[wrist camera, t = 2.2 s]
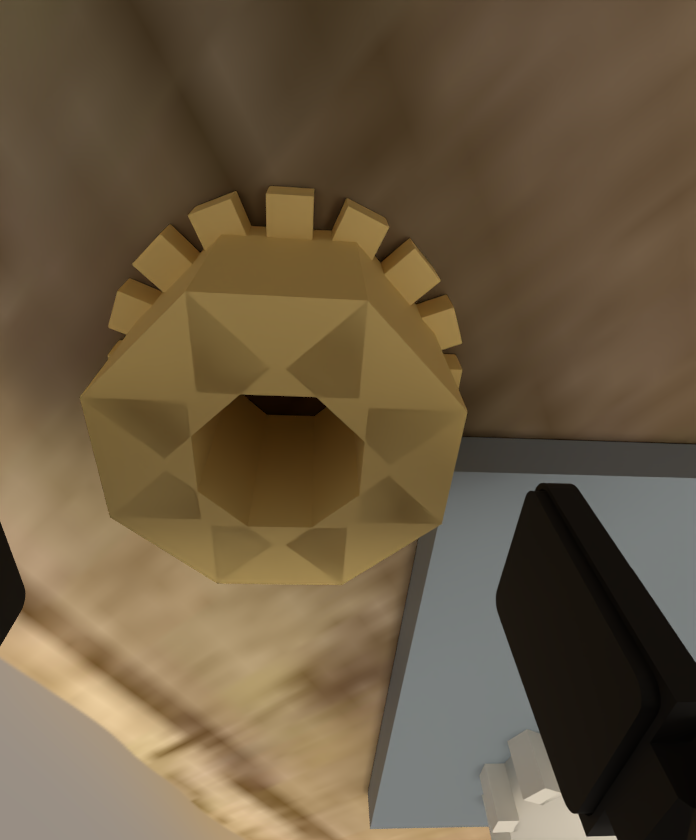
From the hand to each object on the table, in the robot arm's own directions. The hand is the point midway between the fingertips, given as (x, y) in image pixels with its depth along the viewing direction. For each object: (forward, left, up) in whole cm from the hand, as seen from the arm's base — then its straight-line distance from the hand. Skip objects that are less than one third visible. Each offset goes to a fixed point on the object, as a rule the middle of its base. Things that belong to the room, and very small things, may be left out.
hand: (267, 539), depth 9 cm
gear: (-1, 0, -5) cm, 5 cm away
